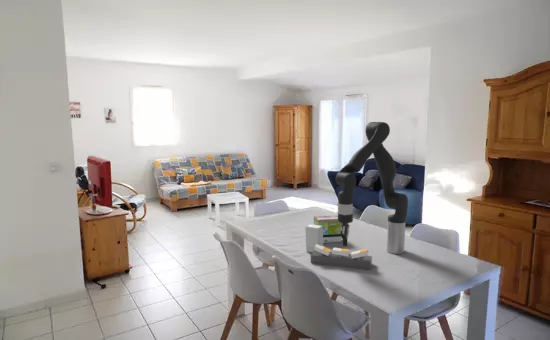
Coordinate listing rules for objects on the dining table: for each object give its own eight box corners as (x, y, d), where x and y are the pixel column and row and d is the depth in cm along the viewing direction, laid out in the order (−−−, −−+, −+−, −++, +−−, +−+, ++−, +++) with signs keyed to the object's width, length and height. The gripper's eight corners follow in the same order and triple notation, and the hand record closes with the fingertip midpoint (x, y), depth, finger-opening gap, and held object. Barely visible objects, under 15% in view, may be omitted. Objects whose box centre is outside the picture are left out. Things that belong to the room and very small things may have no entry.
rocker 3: (353, 255, 192) (351, 251, 192) (368, 252, 189) (367, 248, 189) (352, 258, 188) (350, 254, 188) (367, 255, 185) (366, 251, 185)
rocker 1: (315, 247, 198) (316, 243, 197) (329, 253, 195) (331, 249, 195) (313, 249, 194) (314, 246, 193) (328, 256, 192) (329, 252, 191)
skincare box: (323, 251, 212) (323, 225, 210) (318, 254, 207) (318, 228, 205) (310, 248, 216) (310, 223, 215) (305, 251, 212) (305, 225, 210)
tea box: (318, 244, 225) (318, 219, 223) (313, 239, 235) (313, 215, 233) (341, 242, 228) (342, 218, 226) (335, 237, 238) (336, 214, 236)
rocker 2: (333, 251, 195) (333, 247, 194) (349, 253, 192) (349, 249, 192) (332, 253, 191) (332, 249, 191) (347, 256, 188) (348, 252, 188)
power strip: (314, 257, 203) (314, 247, 202) (371, 263, 193) (372, 253, 192) (310, 262, 195) (310, 252, 194) (370, 269, 185) (370, 259, 185)
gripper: (339, 208, 196) (339, 241, 198) (335, 214, 183) (335, 249, 185) (354, 209, 193) (354, 242, 195) (351, 215, 181) (350, 250, 183)
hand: (345, 245), depth 190 cm, fingers closed
